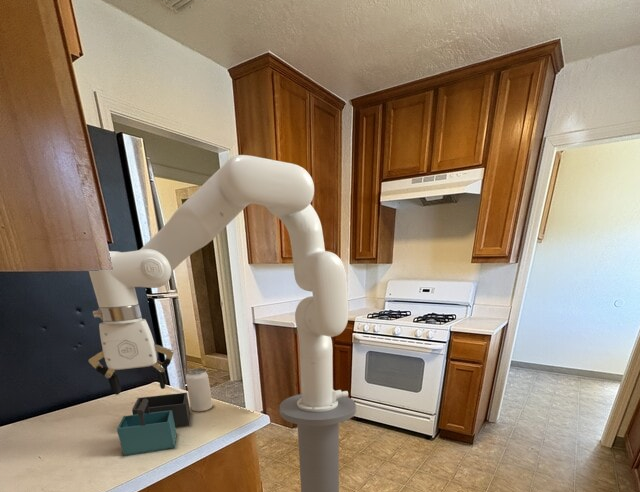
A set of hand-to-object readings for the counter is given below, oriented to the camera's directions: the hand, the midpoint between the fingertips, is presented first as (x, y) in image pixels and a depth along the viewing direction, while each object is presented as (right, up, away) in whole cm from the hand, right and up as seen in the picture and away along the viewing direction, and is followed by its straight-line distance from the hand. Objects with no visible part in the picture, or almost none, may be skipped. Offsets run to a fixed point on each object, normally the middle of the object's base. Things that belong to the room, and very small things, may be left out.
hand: (141, 389), depth 83 cm
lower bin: (-3, -8, +18) cm, 20 cm away
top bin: (0, -13, +5) cm, 14 cm away
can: (+5, -4, +28) cm, 29 cm away
